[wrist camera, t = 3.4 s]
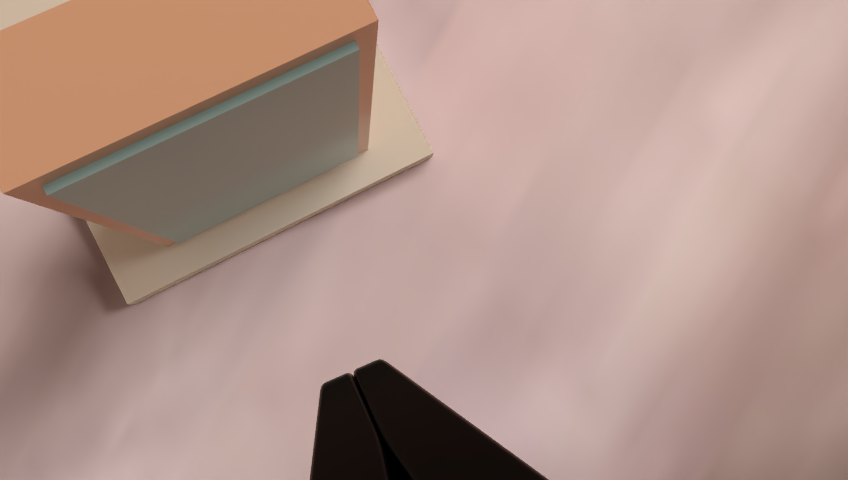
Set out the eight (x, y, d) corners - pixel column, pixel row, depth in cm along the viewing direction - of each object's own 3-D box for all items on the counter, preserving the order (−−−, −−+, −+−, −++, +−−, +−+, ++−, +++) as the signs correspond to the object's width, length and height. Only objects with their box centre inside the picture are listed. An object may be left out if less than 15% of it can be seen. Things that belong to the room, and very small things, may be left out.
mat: (431, 157, 21) (433, 152, 20) (134, 304, 19) (127, 304, 19) (244, -201, 21) (241, -216, 20) (-57, -78, 20) (-69, -90, 19)
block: (370, 154, 20) (383, 28, 11) (170, 252, 19) (7, 203, 10) (332, 80, 20) (313, -106, 11) (131, 174, 19) (-65, 58, 10)
